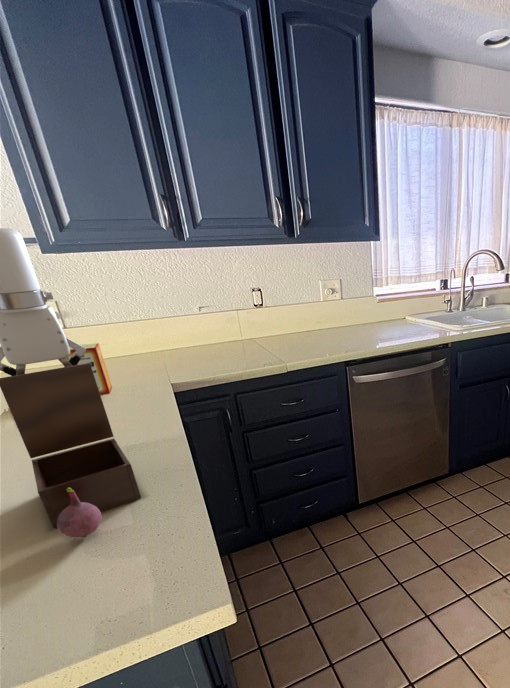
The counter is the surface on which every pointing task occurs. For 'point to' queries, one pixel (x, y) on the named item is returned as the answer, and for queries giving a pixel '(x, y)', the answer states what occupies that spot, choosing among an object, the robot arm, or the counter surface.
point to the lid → (56, 408)
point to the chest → (85, 478)
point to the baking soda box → (95, 366)
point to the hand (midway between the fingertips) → (53, 391)
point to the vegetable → (78, 518)
